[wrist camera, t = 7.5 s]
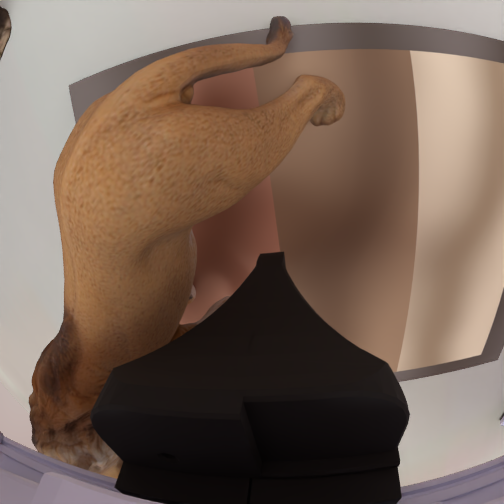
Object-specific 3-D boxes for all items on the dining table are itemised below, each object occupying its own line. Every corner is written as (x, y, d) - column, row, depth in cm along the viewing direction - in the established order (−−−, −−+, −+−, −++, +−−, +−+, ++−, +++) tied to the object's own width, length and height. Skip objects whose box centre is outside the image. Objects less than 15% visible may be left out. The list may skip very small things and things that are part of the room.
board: (541, 53, 7) (544, 53, 7) (496, 358, 14) (497, 360, 14) (70, 85, 10) (68, 85, 10) (173, 390, 18) (172, 392, 18)
